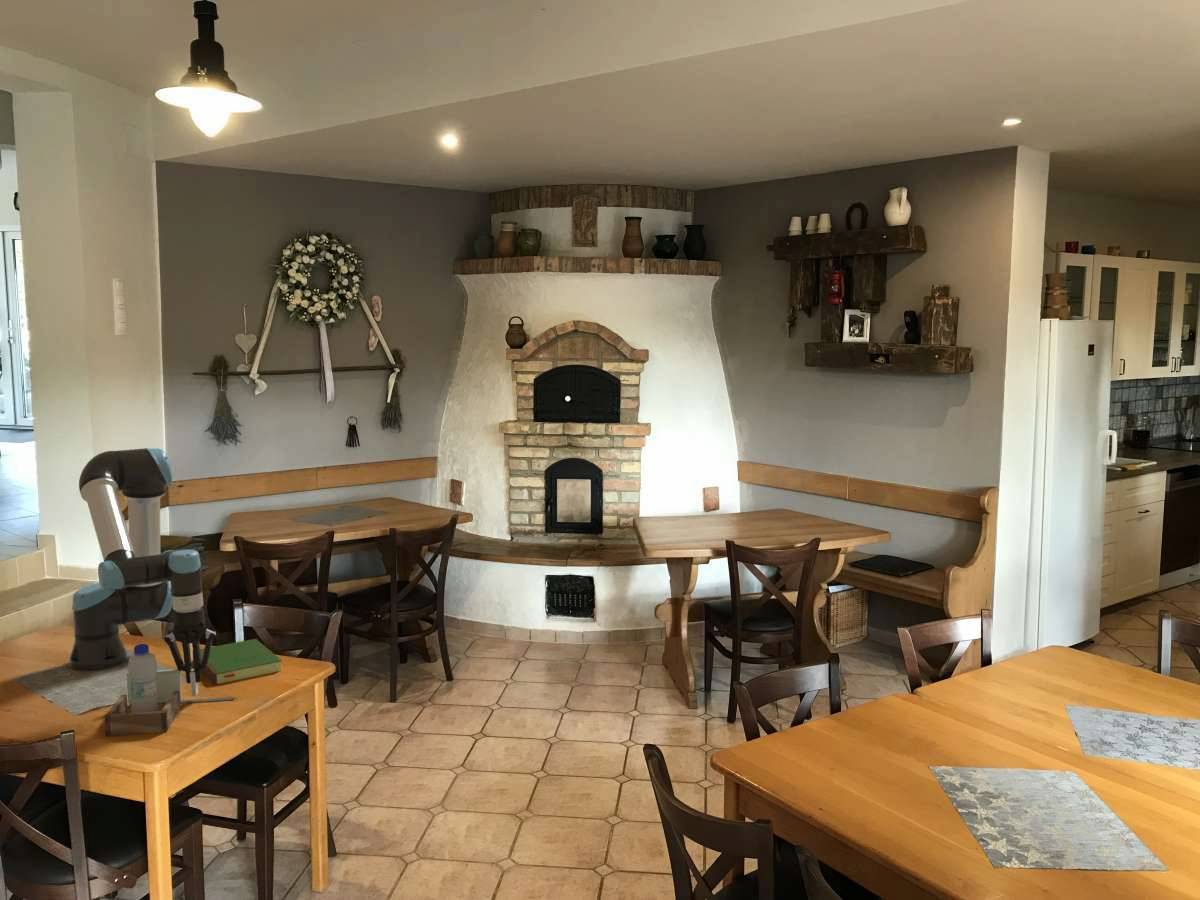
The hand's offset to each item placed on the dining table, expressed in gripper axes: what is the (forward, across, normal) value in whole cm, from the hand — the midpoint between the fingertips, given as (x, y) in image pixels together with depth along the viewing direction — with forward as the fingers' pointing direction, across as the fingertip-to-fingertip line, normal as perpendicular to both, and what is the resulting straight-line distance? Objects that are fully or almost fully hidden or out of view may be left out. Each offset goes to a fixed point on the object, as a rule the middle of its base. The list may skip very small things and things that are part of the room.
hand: (195, 693), depth 252 cm
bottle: (+2, -10, -11) cm, 15 cm away
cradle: (+2, -4, -9) cm, 10 cm away
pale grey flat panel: (+2, -10, 0) cm, 10 cm away
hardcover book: (+3, +6, +26) cm, 27 cm away
